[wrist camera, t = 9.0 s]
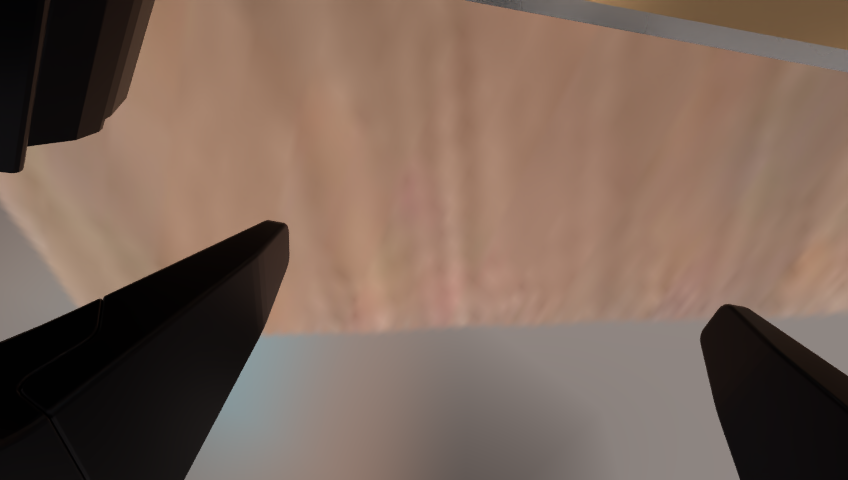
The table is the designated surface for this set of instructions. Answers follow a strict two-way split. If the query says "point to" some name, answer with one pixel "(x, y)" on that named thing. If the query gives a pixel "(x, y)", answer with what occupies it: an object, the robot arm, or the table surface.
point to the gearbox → (719, 24)
